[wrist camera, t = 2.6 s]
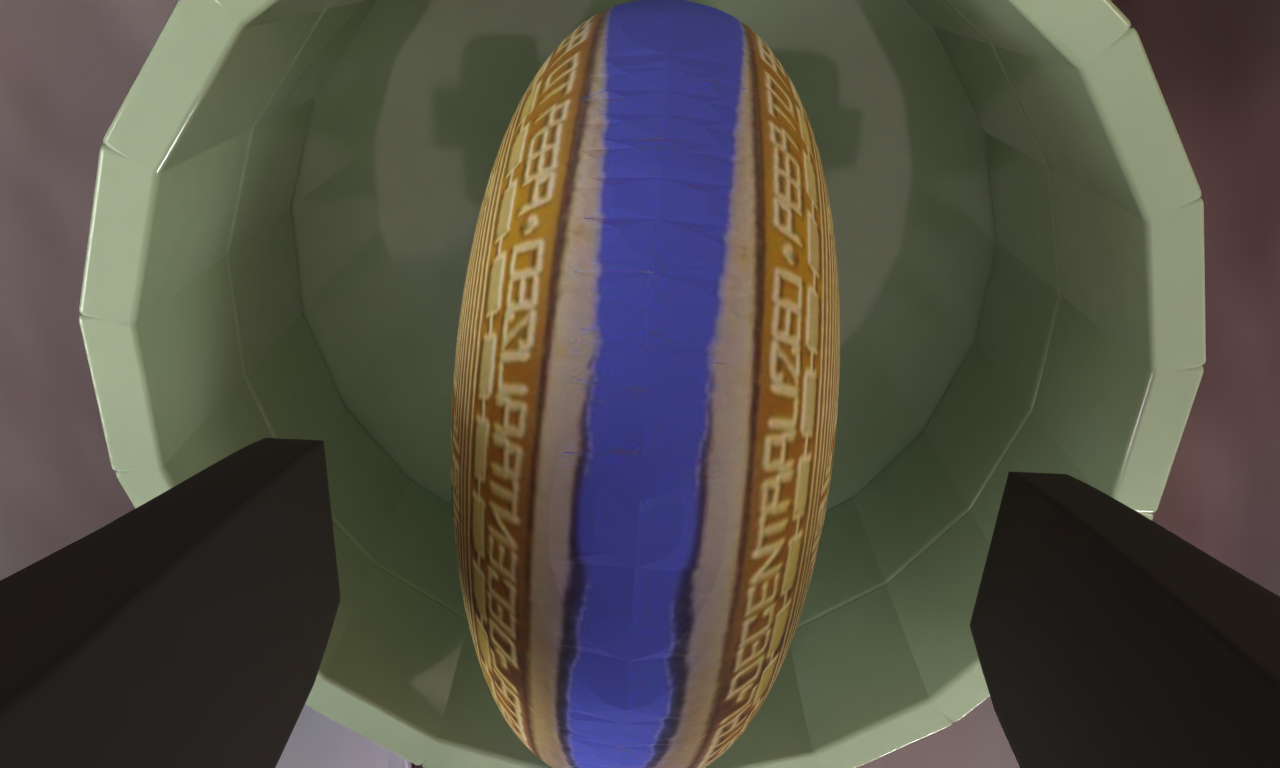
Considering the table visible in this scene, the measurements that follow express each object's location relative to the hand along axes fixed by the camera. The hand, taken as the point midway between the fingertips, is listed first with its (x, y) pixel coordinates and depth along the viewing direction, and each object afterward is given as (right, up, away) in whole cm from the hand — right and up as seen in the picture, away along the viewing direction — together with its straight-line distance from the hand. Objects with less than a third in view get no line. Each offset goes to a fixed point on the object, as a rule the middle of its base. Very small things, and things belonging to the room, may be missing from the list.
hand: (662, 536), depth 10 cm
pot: (0, +4, +8) cm, 9 cm away
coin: (0, +4, +8) cm, 9 cm away
